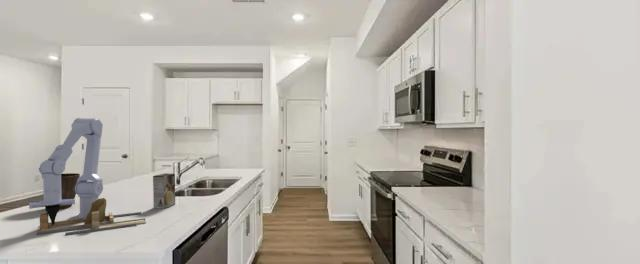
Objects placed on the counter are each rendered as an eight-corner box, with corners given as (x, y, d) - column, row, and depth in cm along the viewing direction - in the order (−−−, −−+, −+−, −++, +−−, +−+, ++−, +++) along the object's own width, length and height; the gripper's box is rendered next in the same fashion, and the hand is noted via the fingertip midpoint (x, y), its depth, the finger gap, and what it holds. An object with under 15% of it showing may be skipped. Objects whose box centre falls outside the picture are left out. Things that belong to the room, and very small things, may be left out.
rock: (89, 221, 143) (114, 212, 152) (80, 203, 145) (104, 196, 154) (80, 234, 148) (104, 225, 157) (71, 217, 150) (95, 209, 159)
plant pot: (38, 208, 176) (37, 175, 176) (72, 202, 189) (72, 172, 188) (50, 212, 168) (49, 178, 167) (85, 206, 180) (85, 174, 180)
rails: (40, 225, 146) (40, 224, 146) (140, 213, 167) (140, 211, 167) (34, 239, 130) (34, 237, 130) (147, 223, 150) (147, 222, 150)
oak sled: (40, 226, 146) (40, 211, 146) (112, 217, 159) (111, 203, 159) (37, 234, 136) (37, 217, 136) (113, 224, 150) (113, 209, 150)
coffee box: (164, 203, 187) (164, 173, 187) (175, 204, 186) (175, 173, 185) (152, 207, 178) (152, 175, 178) (164, 208, 177) (164, 176, 176)
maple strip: (91, 227, 144) (91, 211, 144) (144, 220, 155) (144, 205, 155) (92, 230, 141) (91, 214, 140) (145, 223, 151) (145, 207, 151)
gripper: (27, 193, 135) (28, 229, 136) (74, 189, 143) (75, 223, 144) (30, 190, 141) (30, 225, 142) (74, 187, 149) (75, 219, 150)
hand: (53, 224), depth 143 cm, fingers closed
